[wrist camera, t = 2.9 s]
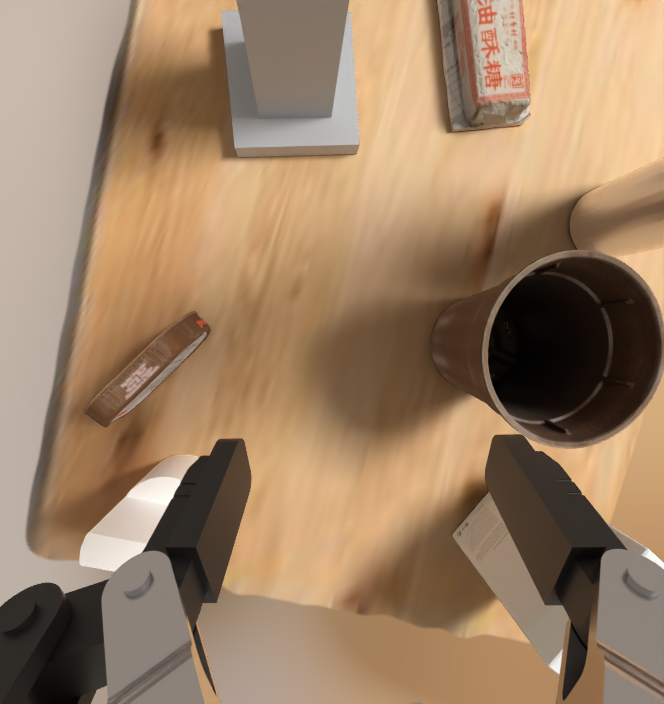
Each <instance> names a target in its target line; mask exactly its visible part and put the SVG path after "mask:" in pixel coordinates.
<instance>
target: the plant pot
mask: <svg viewBox="0 0 664 704" xmlns="http://www.w3.org/2000/svg"><path fill="white" fill-rule="evenodd" d="M505 321H507V322H508V324H509V326H510V329H511V333H512V339H510V338H509V336H508V331H507V328H506V327H505V325H504V322H505ZM488 347H491V348H492V351H491V352H488ZM431 353H432V357H433V361H434V363H435V366H436V368H437V369H438V371H439V372H440V374H441V375H442V376H443V377H444V378H445V379H446V380H447V381H448V382H450V383H451V384H453V385H454V386H456V387H458V388H460V389H462V390H464V391H465V392H467V393H469V394H471V395H473V396H474V397H476V398H478V399H480V400H481V401H483V402H485V403H487V404H488V406H490V407H491V408H492V409H493V410H494V411H495V412H496V413H498V414H499V415H501V416H502V417H503V418H504V419H505V421H506V422H508V423H509V424H510V425H511V426H512V427H513V428H514V429H516V430H517V431H518V432H520V433H521V434H523V435H524V436H526V437H528V438H529V439H531V440H533V441H535V442H538V443H540V444H543V445H547V446H551V447H556V448H566V449H574V448H583V447H588V446H592V445H595V444H598V443H601V442H603V441H605V440H608V439H610V438H611V437H613V436H615V435H617V434H618V433H620V432H621V431H623V430H624V429H625V428H627V427H628V426H629V425H630V424H631V423H633V422H634V421H635V420H636V418H637V417H638V416H639V415H640V414H641V413H642V412H643V410H644V409H645V408H646V406H647V405H648V403H649V402H650V400H651V399H652V398H653V396H654V394H655V392H656V390H657V388H658V386H659V383H660V381H661V378H662V374H663V371H664V321H663V317H662V313H661V310H660V307H659V304H658V301H657V299H656V297H655V296H654V294H653V292H652V290H651V289H650V287H649V286H648V285H647V283H646V282H645V281H644V280H643V279H642V278H641V277H640V275H639V274H638V273H636V272H635V271H634V270H633V269H632V268H631V267H629V266H628V265H627V264H625V263H623V262H622V261H620V260H618V259H616V258H614V257H612V256H609V255H606V254H603V253H600V252H596V251H590V250H569V251H562V252H558V253H555V254H551V255H549V256H546V257H543V258H541V259H539V260H537V261H535V262H533V263H531V264H530V265H528V266H527V267H525V268H524V269H522V270H521V271H520V272H519V273H517V274H516V275H514V276H512V277H510V278H508V279H507V280H505V281H504V282H502V283H501V284H499V285H498V286H496V287H493V288H491V289H488V290H486V291H483V292H480V293H478V294H475V295H473V296H470V297H467V298H464V299H462V300H459V301H457V302H456V303H454V304H452V305H451V306H449V307H448V308H447V309H446V310H444V312H443V313H442V314H441V315H440V316H439V318H438V321H437V324H436V326H435V328H434V330H433V332H432V336H431ZM494 372H495V373H496V376H495V377H493V378H490V374H492V373H494Z"/></svg>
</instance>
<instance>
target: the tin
mask: <svg viewBox="0 0 664 704" xmlns="http://www.w3.org/2000/svg"><path fill="white" fill-rule="evenodd" d="M210 331H211V329H210V327H209V325H208V324H207V323H206V322H205V321H204V320H203V319H201V318H200V317H199V316H198V314H197V312H190V313H188V314H186V315H185V316H183V317H181V318H180V319H178V320H177V321H176V322H174V323H173V324H172V325H170V326H169V327H168V328H166V329H165V330H164V331H163V332H162V333H161V334H159V335H158V336H157V337H156V338H155V339H154V340H153V341H152V342H151V343H150V344H149V345H148V346H147V347H146V348H144V349H143V350H142V351H141V352H140V353H139V354H138V355H137V356H136V357H135V358H134V359H133V360H132V361H131V362H130V363H129V364H128V365H127V366H126V367H125V368H124V369H123V370H122V371H121V372H120V373H119V374H118V375H117V376H116V377H115V378H113V379H112V380H111V381H110V382H109V383H108V384H107V385H106V386H105V387H104V388H103V389H102V390H101V391H100V392H99V393H98V394H97V395H96V396H95V397H94V398H93V399H92V400H91V401H90V402H89V404H88V405H87V406H86V408H85V409H84V414H87V415H89V416H90V417H91V418H92V419H94V420H95V421H96V422H98V423H99V424H100V425H102V426H103V427H108V426H109V425H110V424H111V423H112V422H114V421H115V420H117V419H119V418H121V417H123V416H125V415H126V414H128V413H129V412H130V411H131V410H132V409H134V408H135V407H136V406H137V405H138V404H139V403H141V402H142V401H143V400H144V399H145V398H146V397H147V396H148V395H149V394H150V393H151V392H153V391H154V390H155V389H156V388H157V387H158V386H159V385H160V384H161V383H162V382H163V381H164V380H165V379H166V378H167V377H168V376H169V375H170V374H171V373H173V372H174V371H175V370H176V369H177V368H178V367H179V366H180V365H181V364H182V363H183V362H184V361H185V360H186V359H187V358H188V357H189V356H190V355H191V354H192V353H193V352H194V351H195V350H196V349H197V348H198V347H199V346H200V344H201V343H202V342H203V341H204V340H205V339H206V338H207V336H208V335H209V333H210Z"/></svg>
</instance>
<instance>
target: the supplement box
mask: <svg viewBox="0 0 664 704" xmlns="http://www.w3.org/2000/svg"><path fill="white" fill-rule="evenodd" d="M607 525H608V526H609V527H610V528H611V530H612V531H613V532H614V533H615V535H616V536H617V537H618V538H619V540H620V541H621V542H622V543H623V545H624V546H625V547H626V548H627V549H628V550H629V551H632V552H635V553H637V554H640V555H642V556H644V557H646V558H648V559H650V560H651V561H653V562H655V563H656V564H657V565H659V566H660V567H662V568H663V569H664V563H663V562H662V561H661V560H660V559H659V558H657V556H655V555H654V554H653V553H652V552H651V551H650V550H649V549H648V548H646V547H645V546H643V545H641V544H640V543H638V542H637V541H635V540H633V539H632V538H630V537H628V536H627V535H625V534H624V533H622V532H620V531H619V530H617V529H616V528H614V527H612V526H611V525H609V524H608V523H607ZM452 537H453V538H454V539H455V541H456V542H457V544H458V545H459V546H460V548H461V549H462V550H463V552H464V553H465V555H466V556H467V557H468V559H469V560H470V561H471V563H472V564H473V565H474V567H475V568H476V569H477V571H478V572H479V573H480V575H481V576H482V577H483V579H484V580H485V581H486V583H487V584H488V586H489V587H490V588H491V590H492V591H493V592H494V594H495V595H496V596H497V598H498V599H499V600H500V602H501V603H502V604H503V606H504V607H505V609H506V610H507V611H508V613H509V614H510V615H511V617H512V618H513V619H514V621H515V622H516V623H517V625H518V626H519V627H520V629H521V630H522V632H523V633H524V634H525V636H526V637H527V638H528V640H529V641H530V643H531V644H532V645H533V647H534V648H535V649H536V651H537V652H538V654H539V655H540V656H541V658H542V659H543V661H544V662H545V663H546V665H547V666H548V667H549V668H551V669H552V670H553V671H555V672H556V673H558V674H560V667H561V659H562V652H563V644H564V636H565V629H566V623H567V620H568V618H569V617H568V615H567V613H566V611H565V609H564V607H563V605H545V604H544V602H543V600H542V598H541V596H540V594H539V592H538V590H537V588H536V586H535V584H534V582H533V580H532V578H531V576H530V574H529V572H528V570H527V568H526V566H525V564H524V562H523V560H522V558H521V556H520V554H519V552H518V549H517V547H516V545H515V543H514V541H513V539H512V537H511V535H510V533H509V531H508V529H507V527H506V525H505V523H504V521H503V519H502V517H501V515H500V513H499V511H498V509H497V507H496V505H495V503H494V501H493V499H492V497H491V495H490V493H489V492H488V493H487V494H486V496H485V497H484V498H483V499H482V500H481V501H480V502H479V504H478V505H477V506H476V507H475V508H474V510H473V511H472V512H471V513H470V514H469V515H468V517H467V518H466V519H465V520H464V521H463V522H462V524H461V525H460V526H459V527H458V528H457V529H456V531H455V532H454V533H453V535H452Z"/></svg>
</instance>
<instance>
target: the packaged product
mask: <svg viewBox="0 0 664 704" xmlns="http://www.w3.org/2000/svg"><path fill="white" fill-rule="evenodd" d="M437 5H438V13H439V20H440V31H441V43H442V53H443V69H444V77H445V81H446V86H447V98H448V108H449V116H450V123H451V130H452V132H456V131H468V130H479V129H488V128H496V127H507V126H516V125H523V124H524V122H525V121H526V120H527V119H528V117H529V116H530V112H529V105H530V102H531V98H530V82H529V73H528V71H529V70H528V60H527V59H528V56H527V51H526V37H525V27H524V15H523V3H522V0H437Z"/></svg>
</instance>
